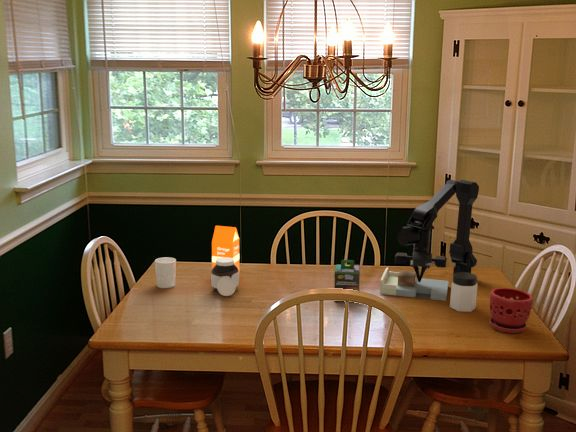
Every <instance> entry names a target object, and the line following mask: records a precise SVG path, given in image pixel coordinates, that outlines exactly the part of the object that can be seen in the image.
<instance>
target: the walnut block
mask: <svg viewBox="0 0 576 432" xmlns="http://www.w3.org/2000/svg"><path fill="white" fill-rule="evenodd" d="M398 272H399V274H398V286H409V287H414V284H415V282H416V272H415V271H410V270H409V271H408V270H399V271H398Z"/></svg>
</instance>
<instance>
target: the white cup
mask: <svg viewBox="0 0 576 432" xmlns="http://www.w3.org/2000/svg"><path fill="white" fill-rule="evenodd" d="M154 268H155V269H154V270H155V279H156V286H157V287H158V288H159V289H171V288H174V287H175V286H176V273H177V269H176V268H177V259H176V258H174V257H171V256H170V257H169V256H168V257H167V256H166V257H158V258H156V259H155V260H154Z"/></svg>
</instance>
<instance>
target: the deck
mask: <svg viewBox="0 0 576 432" xmlns="http://www.w3.org/2000/svg"><path fill="white" fill-rule="evenodd" d="M398 274H399V271H391V270H390V271H389V267H388V266H387V267H385V270H384V272H383V274H382V276H381V278H380V279H379V280H380V282H379V284H380V285H379V294H381V295H388V296H397V297H398V296H399V297H405V298H406V297H408V298H417V299H418V298H419V299H427V300H434V301H435V300H436V301H444V302H446V301H447V297H448V296H447V295H448V290H449V280H443V279H434V278H433V279H432V278H424V277H422V279H421V282H418V279H417V278H415V284H414V287H409V286H398Z"/></svg>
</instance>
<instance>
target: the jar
mask: <svg viewBox="0 0 576 432" xmlns="http://www.w3.org/2000/svg"><path fill="white" fill-rule="evenodd" d="M477 295H478V276H477V274H475V273H472V272H471V273H468V272H457V273H454V274H453V273H452V281H451V284H450V299H449V308H451V309H453V310H454V311H456V312H460V313H461V312H462V313H464V312H465V313H472V312H473V311H474V310H476V307H477V306H476V305H477Z"/></svg>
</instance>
